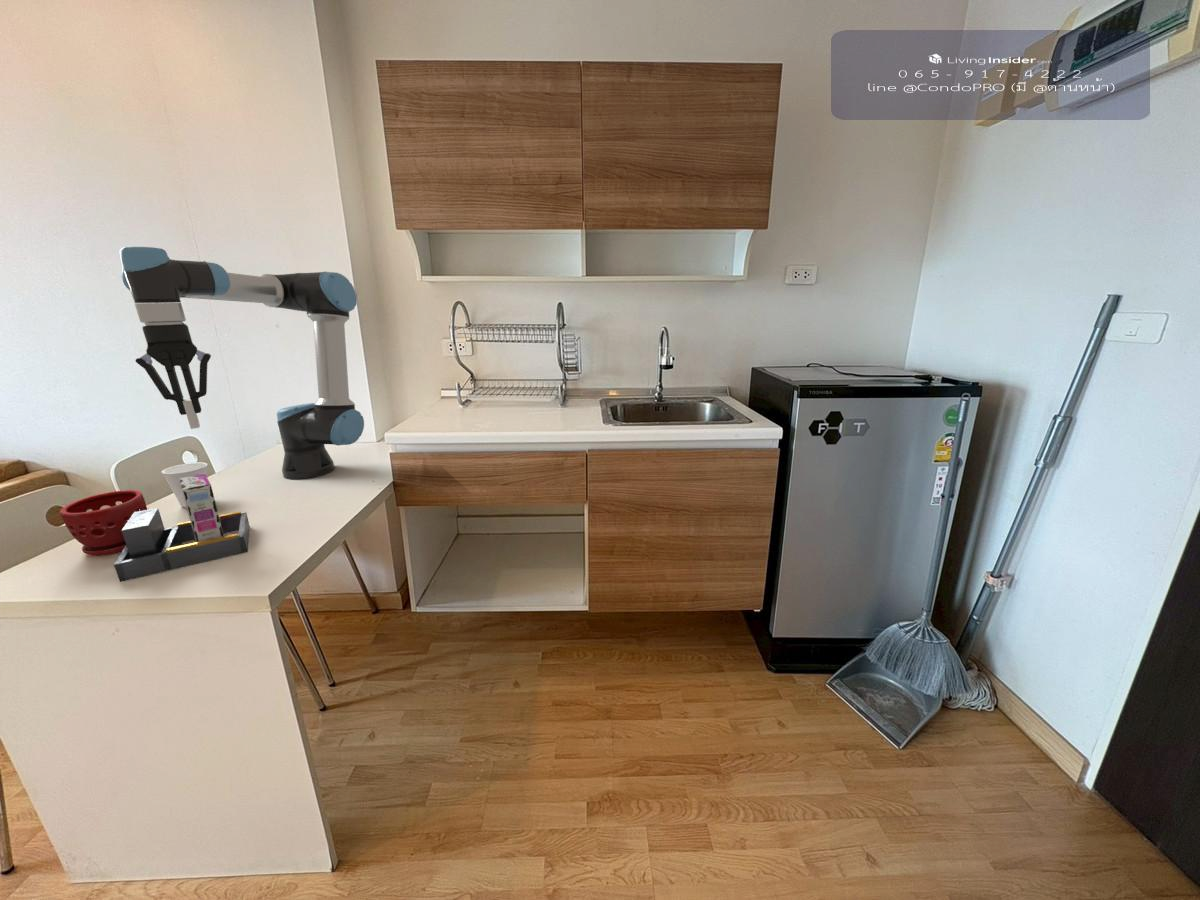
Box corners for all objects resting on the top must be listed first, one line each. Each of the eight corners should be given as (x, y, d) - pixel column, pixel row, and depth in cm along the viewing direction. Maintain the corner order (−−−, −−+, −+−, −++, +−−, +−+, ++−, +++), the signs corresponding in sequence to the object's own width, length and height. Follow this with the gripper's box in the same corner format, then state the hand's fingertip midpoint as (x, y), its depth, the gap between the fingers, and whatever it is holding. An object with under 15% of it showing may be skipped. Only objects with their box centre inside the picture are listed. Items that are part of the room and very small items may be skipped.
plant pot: (91, 542, 111) (75, 496, 107) (163, 530, 117) (150, 485, 113) (65, 567, 100) (45, 516, 96) (146, 552, 106) (130, 504, 102)
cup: (191, 512, 127) (180, 474, 124) (162, 509, 129) (151, 472, 126) (226, 498, 136) (216, 463, 133) (198, 496, 138) (189, 461, 135)
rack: (249, 526, 118) (240, 490, 115) (247, 552, 105) (237, 511, 102) (137, 550, 107) (124, 510, 104) (119, 582, 94) (104, 537, 91)
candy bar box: (229, 551, 106) (211, 484, 101) (201, 559, 102) (181, 490, 98) (222, 535, 113) (205, 472, 109) (196, 542, 110) (177, 477, 105)
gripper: (203, 321, 108) (230, 419, 115) (127, 324, 101) (160, 428, 108) (201, 322, 102) (229, 425, 110) (119, 325, 95) (156, 435, 102)
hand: (195, 427), depth 109 cm, fingers closed
